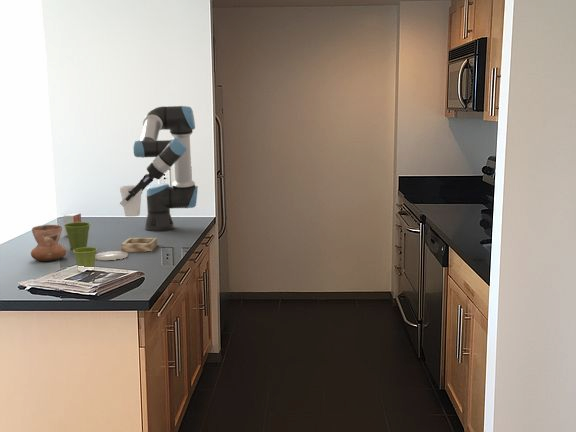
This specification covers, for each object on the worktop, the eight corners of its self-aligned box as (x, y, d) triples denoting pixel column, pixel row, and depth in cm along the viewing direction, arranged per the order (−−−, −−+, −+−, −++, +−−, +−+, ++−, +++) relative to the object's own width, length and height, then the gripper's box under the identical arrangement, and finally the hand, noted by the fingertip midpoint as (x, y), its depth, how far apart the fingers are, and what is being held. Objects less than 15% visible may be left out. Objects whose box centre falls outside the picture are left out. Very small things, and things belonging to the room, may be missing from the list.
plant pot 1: (69, 252, 303) (67, 227, 302) (62, 247, 313) (61, 223, 311) (95, 248, 310) (93, 225, 308) (88, 244, 320) (86, 221, 318)
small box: (74, 236, 339) (73, 215, 337) (64, 236, 340) (62, 215, 338) (82, 233, 346) (81, 213, 345) (72, 233, 347) (71, 212, 346)
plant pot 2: (103, 268, 273) (102, 247, 272) (89, 274, 265) (88, 252, 263) (83, 267, 276) (82, 246, 275) (69, 272, 268) (68, 251, 266)
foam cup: (123, 213, 306) (122, 185, 304) (144, 213, 307) (142, 185, 305) (120, 217, 297) (118, 188, 295) (141, 216, 298) (140, 187, 296)
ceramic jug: (66, 262, 285) (64, 229, 282) (30, 265, 280) (27, 232, 278) (66, 253, 302) (64, 222, 299) (32, 255, 297) (30, 224, 295)
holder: (157, 245, 316) (157, 237, 315) (151, 251, 303) (150, 244, 302) (129, 245, 316) (128, 238, 316) (121, 251, 303) (121, 244, 303)
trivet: (122, 252, 303) (122, 249, 302) (131, 258, 291) (131, 255, 290) (91, 255, 296) (91, 253, 296) (99, 262, 284) (99, 260, 284)
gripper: (159, 176, 288) (125, 213, 291) (169, 171, 310) (136, 205, 312) (146, 164, 287) (112, 201, 290) (157, 159, 309) (124, 194, 312)
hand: (124, 203), depth 301 cm, fingers closed on foam cup, 9 cm apart
